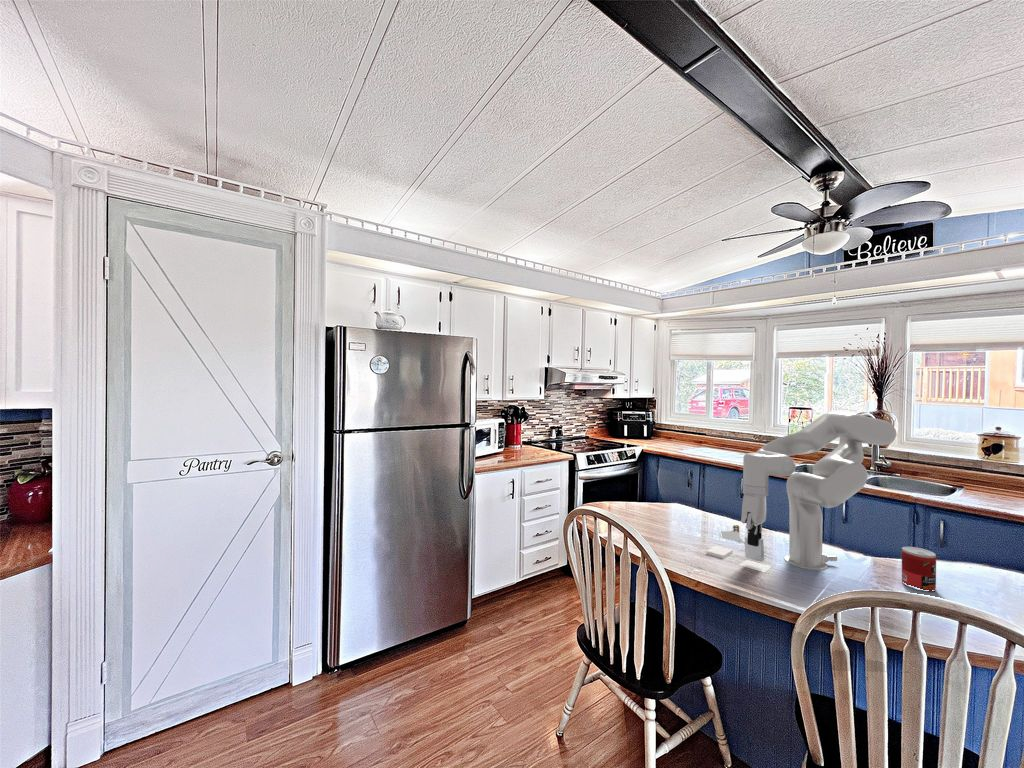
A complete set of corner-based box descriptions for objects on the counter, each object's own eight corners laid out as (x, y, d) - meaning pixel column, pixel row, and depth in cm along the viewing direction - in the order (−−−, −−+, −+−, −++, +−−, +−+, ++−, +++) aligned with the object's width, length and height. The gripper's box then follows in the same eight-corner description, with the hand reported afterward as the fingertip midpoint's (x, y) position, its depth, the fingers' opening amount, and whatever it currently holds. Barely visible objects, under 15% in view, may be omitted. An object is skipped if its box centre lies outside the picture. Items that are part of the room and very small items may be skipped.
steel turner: (748, 556, 153) (747, 526, 153) (764, 559, 149) (762, 529, 149) (745, 557, 151) (744, 528, 151) (761, 561, 147) (760, 531, 148)
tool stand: (746, 561, 155) (746, 559, 155) (771, 569, 150) (771, 566, 150) (738, 567, 151) (738, 565, 151) (764, 574, 145) (764, 572, 145)
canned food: (927, 594, 132) (928, 557, 132) (895, 583, 139) (896, 548, 139) (941, 589, 135) (941, 553, 135) (909, 579, 142) (909, 544, 142)
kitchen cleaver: (718, 523, 197) (744, 525, 193) (719, 525, 197) (744, 528, 193) (716, 541, 175) (745, 544, 171) (716, 543, 175) (745, 546, 171)
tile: (715, 545, 166) (706, 550, 161) (732, 549, 162) (723, 555, 156) (715, 548, 166) (706, 554, 161) (732, 553, 161) (723, 559, 156)
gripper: (752, 484, 158) (751, 536, 158) (734, 491, 148) (733, 546, 147) (775, 488, 153) (774, 542, 153) (758, 495, 142) (757, 553, 142)
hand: (754, 543), depth 150 cm, fingers closed on steel turner, 2 cm apart
